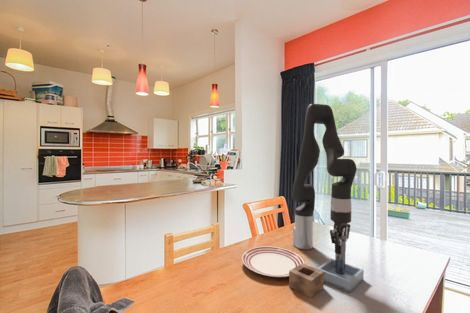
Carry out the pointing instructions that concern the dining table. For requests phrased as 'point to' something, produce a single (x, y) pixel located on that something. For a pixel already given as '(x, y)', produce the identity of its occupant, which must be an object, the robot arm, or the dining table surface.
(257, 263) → the dinner plate
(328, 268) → the tray
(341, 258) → the pin
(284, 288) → the dining table surface
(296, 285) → the block
